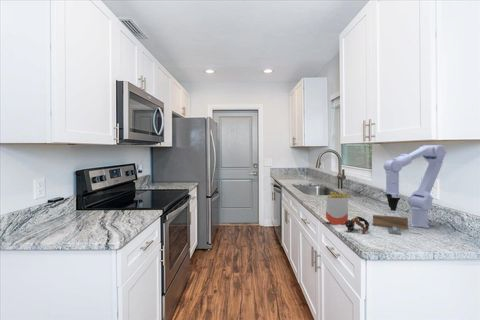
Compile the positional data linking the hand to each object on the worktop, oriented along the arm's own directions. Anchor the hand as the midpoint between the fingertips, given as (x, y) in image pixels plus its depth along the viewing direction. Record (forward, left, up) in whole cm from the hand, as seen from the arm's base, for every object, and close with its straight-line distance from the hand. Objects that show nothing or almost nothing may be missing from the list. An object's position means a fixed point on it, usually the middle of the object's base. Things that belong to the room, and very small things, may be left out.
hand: (392, 208), depth 135 cm
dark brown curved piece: (+14, -16, -10) cm, 24 cm away
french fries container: (+5, -27, -10) cm, 29 cm away
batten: (-1, -1, -10) cm, 10 cm away
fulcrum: (+8, +1, -10) cm, 13 cm away
